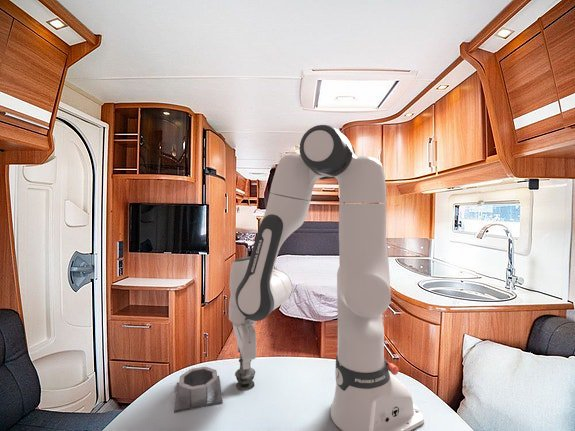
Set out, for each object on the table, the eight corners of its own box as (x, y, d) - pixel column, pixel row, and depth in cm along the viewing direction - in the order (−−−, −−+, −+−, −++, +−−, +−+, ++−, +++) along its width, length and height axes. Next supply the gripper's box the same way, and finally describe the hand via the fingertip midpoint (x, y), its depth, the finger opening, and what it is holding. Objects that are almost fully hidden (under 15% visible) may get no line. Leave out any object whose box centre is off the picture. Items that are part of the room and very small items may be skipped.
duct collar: (219, 377, 89) (219, 362, 88) (222, 403, 77) (222, 386, 77) (176, 384, 85) (176, 369, 85) (174, 412, 74) (173, 394, 73)
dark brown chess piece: (251, 392, 81) (251, 350, 81) (231, 389, 83) (231, 348, 82) (258, 380, 87) (257, 340, 87) (239, 377, 88) (239, 338, 88)
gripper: (262, 325, 75) (261, 378, 76) (249, 300, 95) (248, 341, 95) (238, 328, 74) (237, 381, 74) (229, 301, 93) (228, 344, 94)
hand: (243, 359), depth 85 cm, fingers open, 8 cm apart
